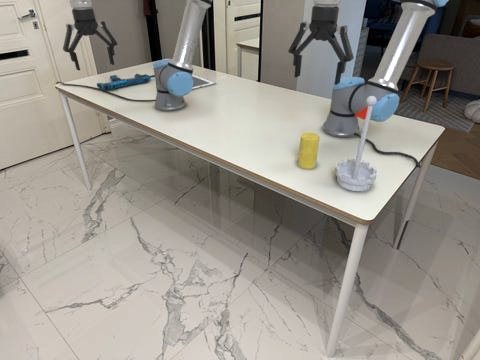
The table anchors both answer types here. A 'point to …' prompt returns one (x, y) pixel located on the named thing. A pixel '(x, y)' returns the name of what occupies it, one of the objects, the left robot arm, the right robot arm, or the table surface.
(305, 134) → the canister
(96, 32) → the left robot arm
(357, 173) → the flag stand
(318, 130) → the table surface
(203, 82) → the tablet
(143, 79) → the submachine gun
